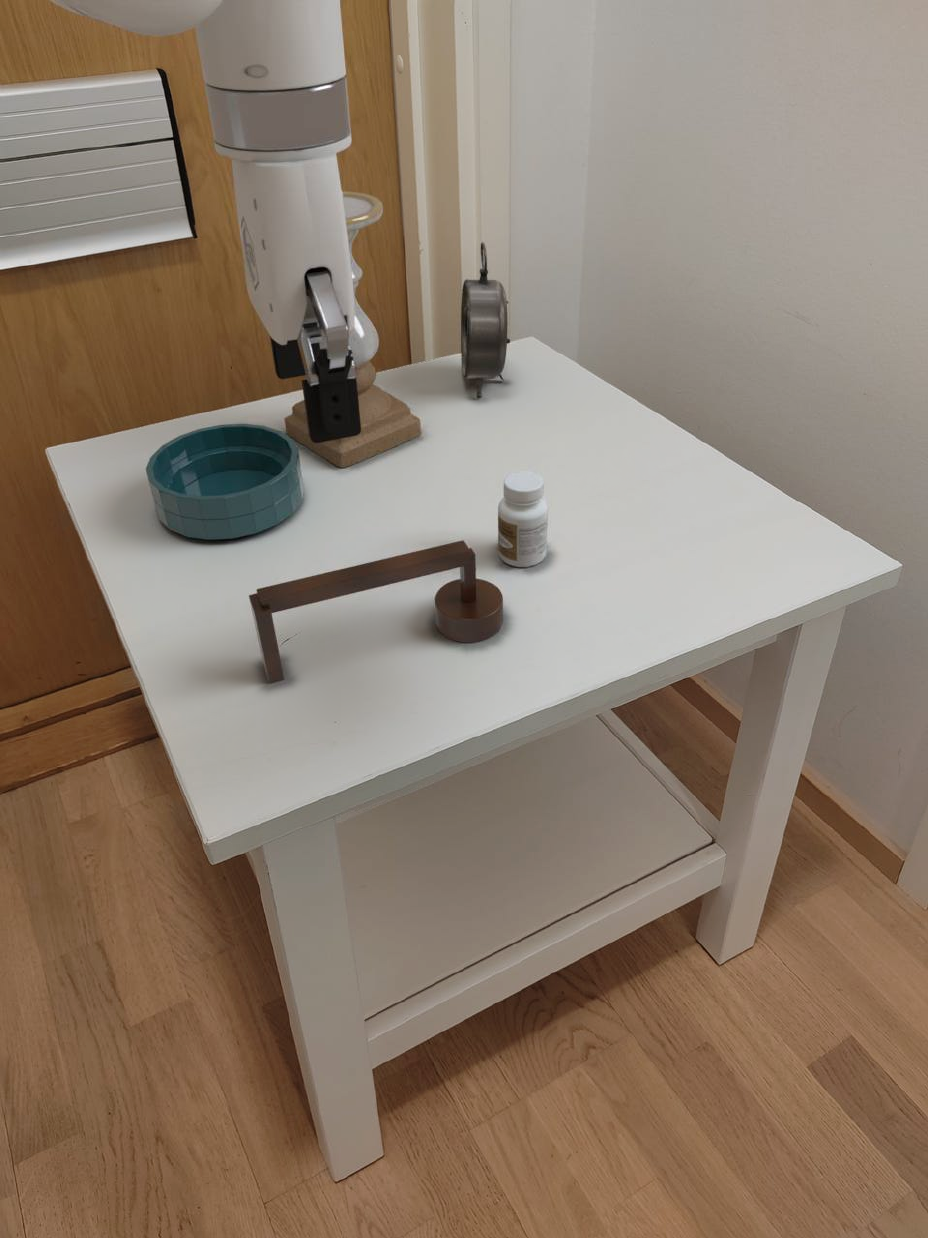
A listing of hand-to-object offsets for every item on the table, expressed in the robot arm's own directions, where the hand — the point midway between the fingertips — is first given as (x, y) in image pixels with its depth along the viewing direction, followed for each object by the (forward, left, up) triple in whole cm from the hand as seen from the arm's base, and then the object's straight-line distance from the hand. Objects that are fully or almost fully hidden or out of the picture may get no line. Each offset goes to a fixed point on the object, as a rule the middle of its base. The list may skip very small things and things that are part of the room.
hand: (316, 404), depth 63 cm
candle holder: (+10, +35, -22) cm, 43 cm away
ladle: (+3, 0, -22) cm, 22 cm away
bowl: (-5, +26, -22) cm, 34 cm away
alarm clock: (+28, +41, -22) cm, 54 cm away
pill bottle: (+18, +7, -22) cm, 29 cm away
